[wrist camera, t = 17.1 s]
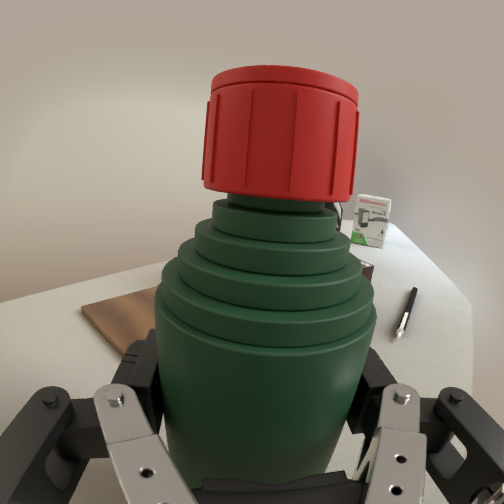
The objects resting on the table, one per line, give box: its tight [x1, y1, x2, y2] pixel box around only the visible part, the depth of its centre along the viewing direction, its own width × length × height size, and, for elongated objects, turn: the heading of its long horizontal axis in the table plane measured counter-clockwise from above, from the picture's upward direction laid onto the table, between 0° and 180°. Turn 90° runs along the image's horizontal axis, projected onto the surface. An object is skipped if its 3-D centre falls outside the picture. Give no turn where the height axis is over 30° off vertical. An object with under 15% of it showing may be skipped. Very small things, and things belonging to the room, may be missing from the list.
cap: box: [202, 65, 359, 203], centre depth 8 cm, size 4×4×3 cm
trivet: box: [81, 286, 158, 356], centre depth 33 cm, size 14×12×1 cm
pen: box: [396, 286, 417, 339], centre depth 38 cm, size 1×19×1 cm, turn 146°
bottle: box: [154, 193, 377, 489], centre depth 10 cm, size 6×6×18 cm
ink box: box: [351, 194, 391, 248], centre depth 74 cm, size 9×5×12 cm, turn 62°
